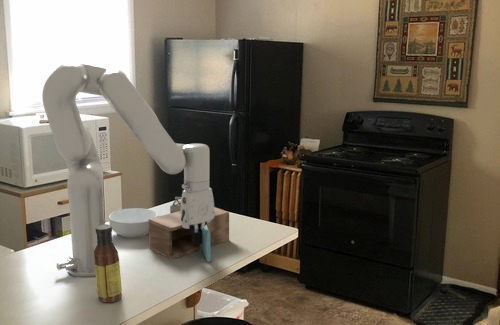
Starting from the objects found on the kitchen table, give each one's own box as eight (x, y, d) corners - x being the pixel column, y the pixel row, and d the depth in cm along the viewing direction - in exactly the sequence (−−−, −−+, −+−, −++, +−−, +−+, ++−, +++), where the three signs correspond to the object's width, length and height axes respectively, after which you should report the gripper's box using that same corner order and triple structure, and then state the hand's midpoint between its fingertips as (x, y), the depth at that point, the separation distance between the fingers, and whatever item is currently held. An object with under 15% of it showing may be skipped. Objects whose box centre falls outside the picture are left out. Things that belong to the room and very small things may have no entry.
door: (214, 261, 171) (214, 233, 169) (207, 261, 171) (207, 233, 169) (208, 247, 183) (208, 220, 181) (201, 247, 182) (201, 221, 180)
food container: (188, 233, 196) (187, 206, 194) (170, 233, 197) (169, 206, 194) (192, 222, 208) (192, 196, 206) (175, 222, 209) (175, 196, 206)
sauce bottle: (124, 293, 151) (120, 222, 146) (119, 303, 144) (116, 230, 140) (99, 293, 150) (95, 222, 146) (93, 304, 144) (89, 230, 140)
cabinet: (171, 258, 174) (170, 228, 172) (149, 248, 183) (148, 218, 180) (229, 240, 190) (229, 212, 188) (206, 231, 199) (206, 204, 197)
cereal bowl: (139, 245, 185) (138, 225, 183) (99, 237, 192) (98, 218, 190) (168, 230, 200) (167, 211, 198) (130, 223, 207) (129, 205, 205)
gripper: (184, 192, 161) (185, 252, 164) (223, 183, 171) (223, 240, 175) (169, 186, 166) (169, 245, 170) (207, 178, 176) (207, 234, 180)
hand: (197, 243), depth 172 cm, fingers closed
